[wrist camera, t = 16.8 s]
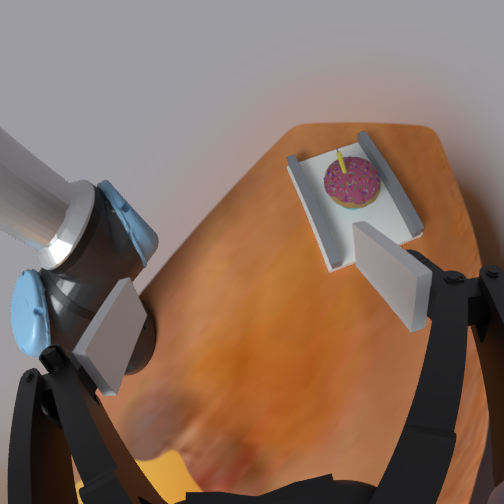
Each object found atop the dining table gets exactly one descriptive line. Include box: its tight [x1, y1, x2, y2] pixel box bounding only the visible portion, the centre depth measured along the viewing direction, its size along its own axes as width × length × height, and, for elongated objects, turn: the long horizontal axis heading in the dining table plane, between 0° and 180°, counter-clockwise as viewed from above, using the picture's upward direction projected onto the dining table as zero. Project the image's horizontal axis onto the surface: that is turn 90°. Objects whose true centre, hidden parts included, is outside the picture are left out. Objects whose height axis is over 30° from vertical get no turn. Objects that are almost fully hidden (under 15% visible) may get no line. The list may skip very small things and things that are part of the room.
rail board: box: [286, 131, 424, 273], centre depth 42 cm, size 20×16×4 cm
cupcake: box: [323, 148, 381, 210], centre depth 37 cm, size 9×8×12 cm
